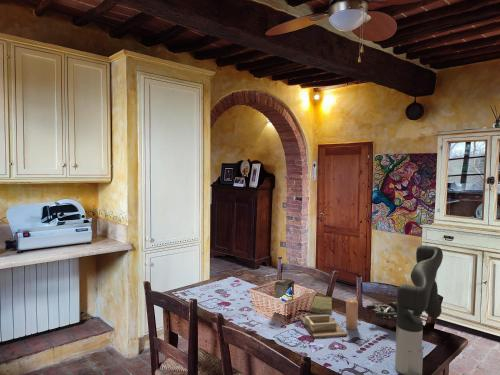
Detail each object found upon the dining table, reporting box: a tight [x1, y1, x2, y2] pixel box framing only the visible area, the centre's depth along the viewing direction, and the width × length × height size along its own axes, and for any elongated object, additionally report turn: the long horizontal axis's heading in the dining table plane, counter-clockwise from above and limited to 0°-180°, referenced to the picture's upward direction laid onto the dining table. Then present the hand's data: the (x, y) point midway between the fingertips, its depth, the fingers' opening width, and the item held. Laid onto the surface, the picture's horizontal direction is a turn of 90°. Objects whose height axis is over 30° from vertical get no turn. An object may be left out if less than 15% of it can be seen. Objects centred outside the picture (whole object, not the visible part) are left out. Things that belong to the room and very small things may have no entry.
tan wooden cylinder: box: [345, 298, 359, 331], centre depth 179 cm, size 5×5×13 cm
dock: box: [299, 314, 348, 339], centre depth 178 cm, size 20×16×4 cm
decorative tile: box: [311, 295, 333, 315], centre depth 205 cm, size 19×20×4 cm
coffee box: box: [274, 278, 295, 298], centre depth 197 cm, size 9×6×16 cm
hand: (370, 311), depth 180 cm, fingers open, 8 cm apart
